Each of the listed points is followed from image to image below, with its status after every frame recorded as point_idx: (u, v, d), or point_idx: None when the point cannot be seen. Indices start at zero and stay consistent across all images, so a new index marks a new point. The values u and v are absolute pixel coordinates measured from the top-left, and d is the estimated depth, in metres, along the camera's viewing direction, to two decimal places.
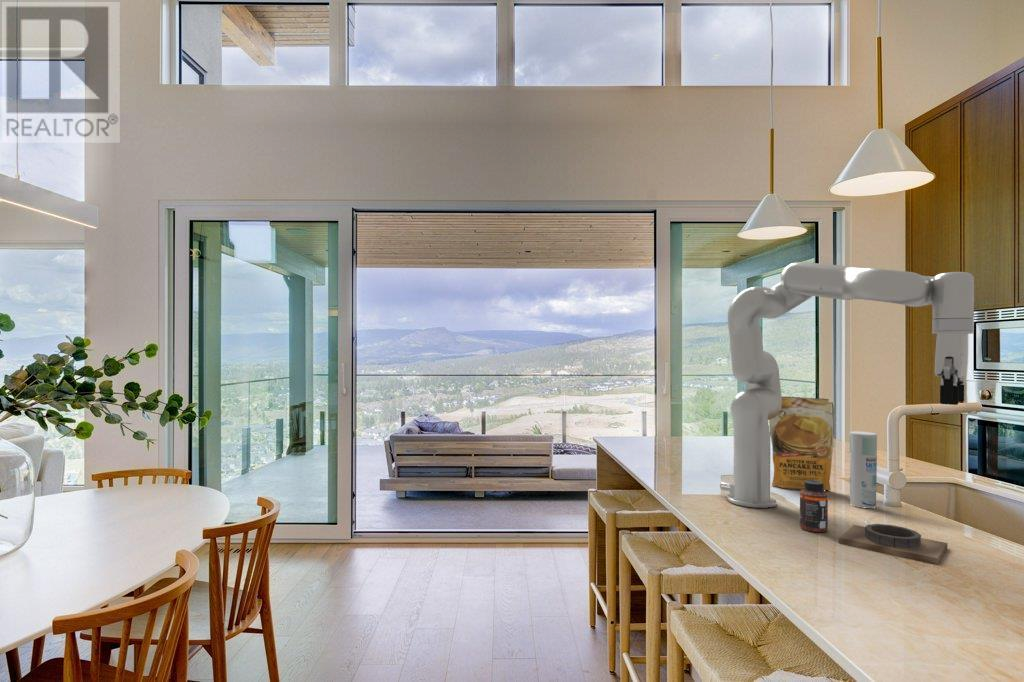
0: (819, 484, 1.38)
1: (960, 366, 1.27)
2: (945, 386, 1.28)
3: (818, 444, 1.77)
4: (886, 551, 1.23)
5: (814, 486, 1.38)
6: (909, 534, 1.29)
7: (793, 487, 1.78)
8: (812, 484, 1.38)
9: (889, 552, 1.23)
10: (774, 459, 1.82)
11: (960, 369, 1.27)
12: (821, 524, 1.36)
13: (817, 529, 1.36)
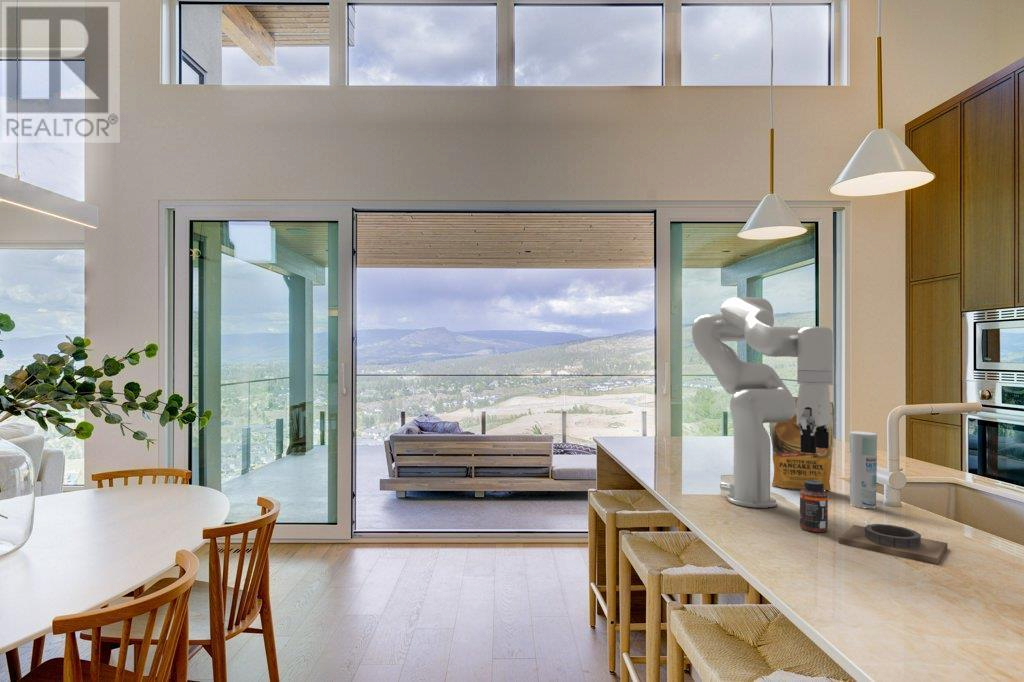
0: (819, 484, 1.38)
1: (817, 417, 1.35)
2: (804, 435, 1.35)
3: None
4: (886, 551, 1.23)
5: (814, 486, 1.38)
6: (909, 534, 1.29)
7: (793, 487, 1.78)
8: (812, 484, 1.38)
9: (889, 552, 1.23)
10: (774, 459, 1.82)
11: (817, 419, 1.35)
12: (821, 524, 1.36)
13: (817, 529, 1.36)
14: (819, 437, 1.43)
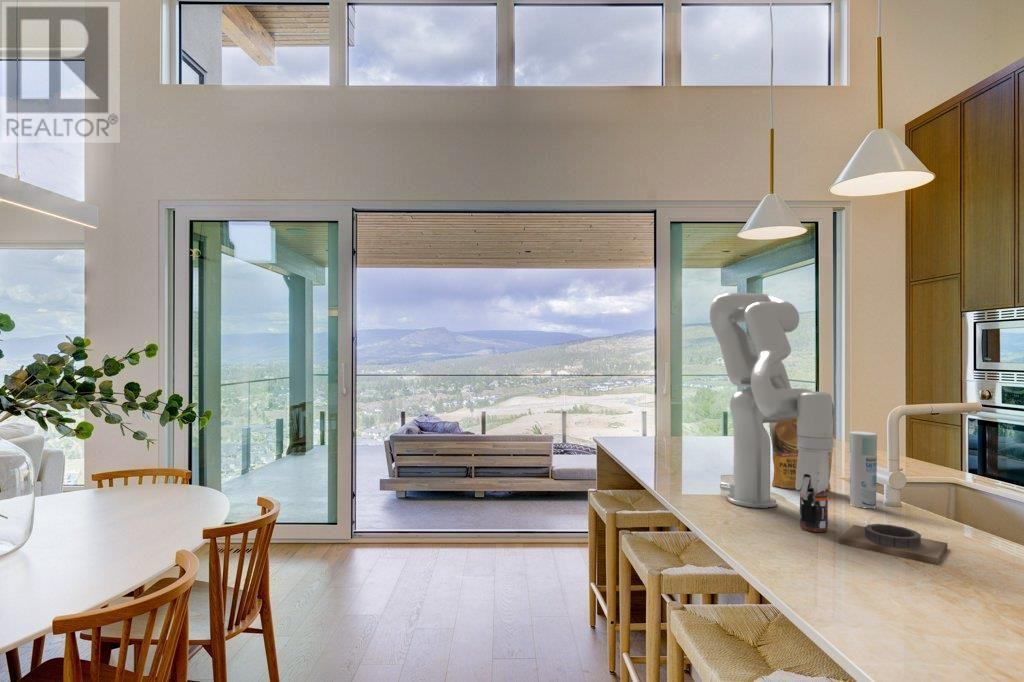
0: None
1: (816, 484, 1.35)
2: (805, 505, 1.36)
3: None
4: (886, 551, 1.23)
5: None
6: (909, 534, 1.29)
7: (793, 487, 1.78)
8: None
9: (889, 552, 1.23)
10: (774, 459, 1.82)
11: (816, 487, 1.35)
12: (821, 524, 1.36)
13: (817, 529, 1.36)
14: None
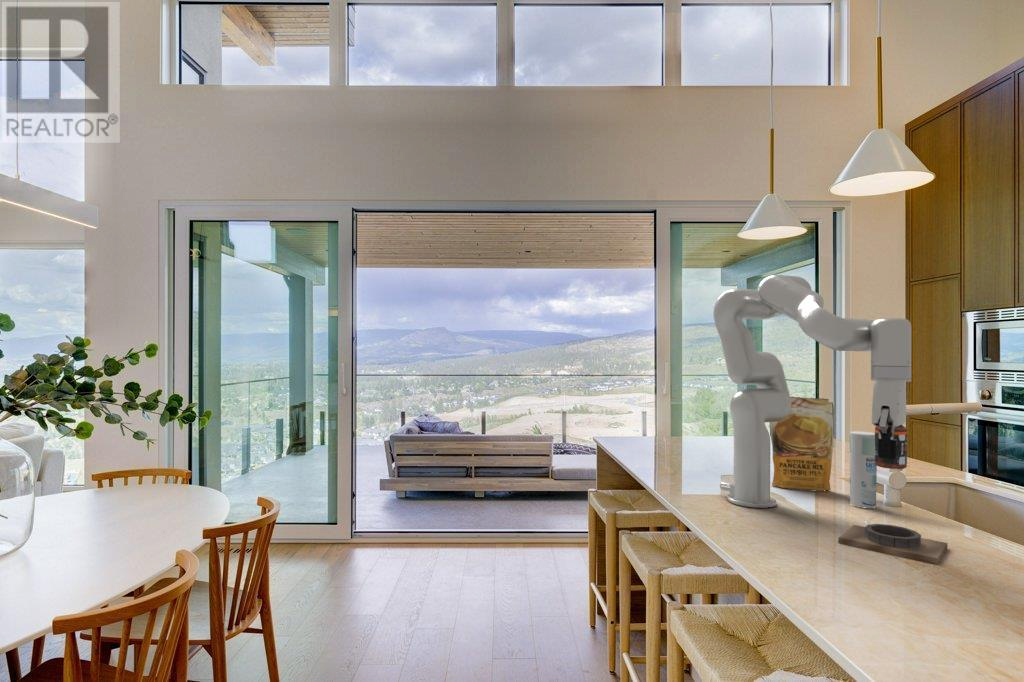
0: None
1: (896, 416, 1.24)
2: (883, 440, 1.26)
3: (818, 444, 1.78)
4: (886, 551, 1.23)
5: None
6: (909, 534, 1.29)
7: (793, 487, 1.78)
8: None
9: (889, 552, 1.23)
10: (774, 459, 1.82)
11: (896, 419, 1.24)
12: (901, 460, 1.26)
13: (896, 465, 1.26)
14: None
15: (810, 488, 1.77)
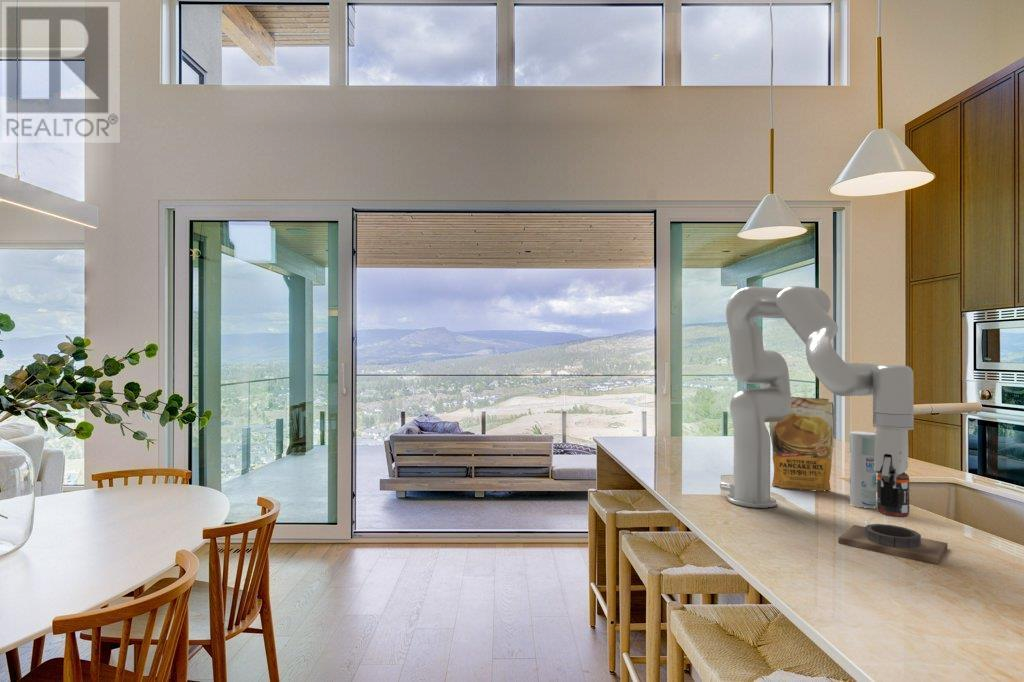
0: None
1: (898, 465, 1.24)
2: (885, 488, 1.25)
3: (818, 444, 1.78)
4: (886, 551, 1.23)
5: None
6: (909, 534, 1.29)
7: (793, 487, 1.78)
8: None
9: (889, 552, 1.23)
10: (774, 459, 1.82)
11: (898, 468, 1.24)
12: (903, 508, 1.25)
13: (899, 514, 1.25)
14: None
15: (810, 488, 1.77)
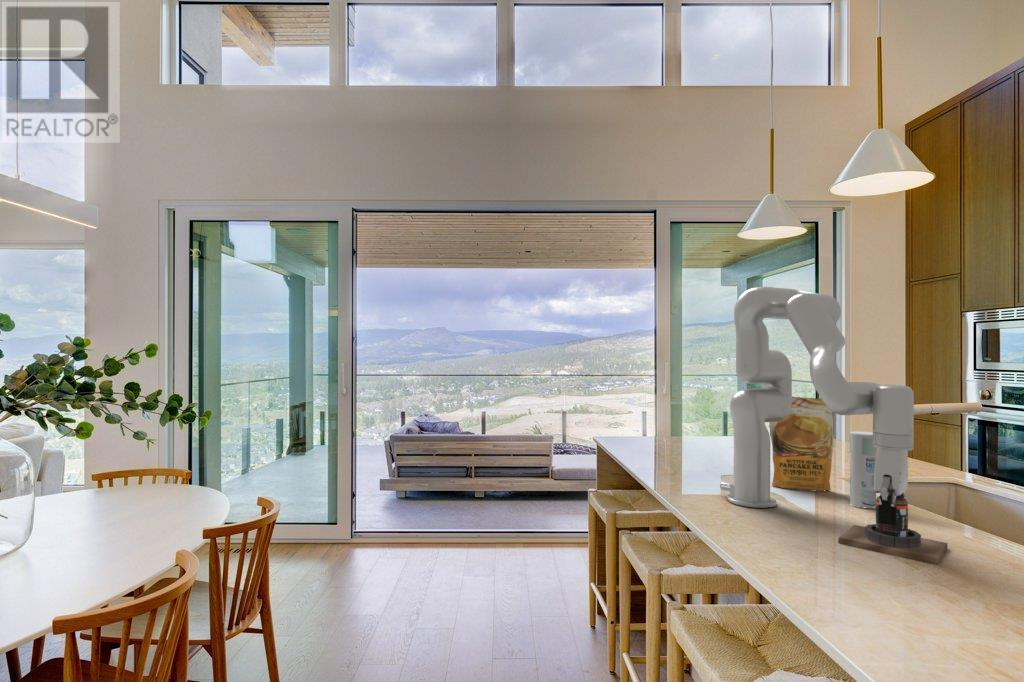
0: None
1: (898, 486, 1.24)
2: (883, 506, 1.24)
3: (818, 444, 1.78)
4: (886, 551, 1.23)
5: None
6: (909, 534, 1.29)
7: (793, 487, 1.78)
8: None
9: (889, 552, 1.23)
10: (774, 459, 1.82)
11: (898, 489, 1.24)
12: (902, 534, 1.26)
13: None
14: None
15: (810, 488, 1.77)
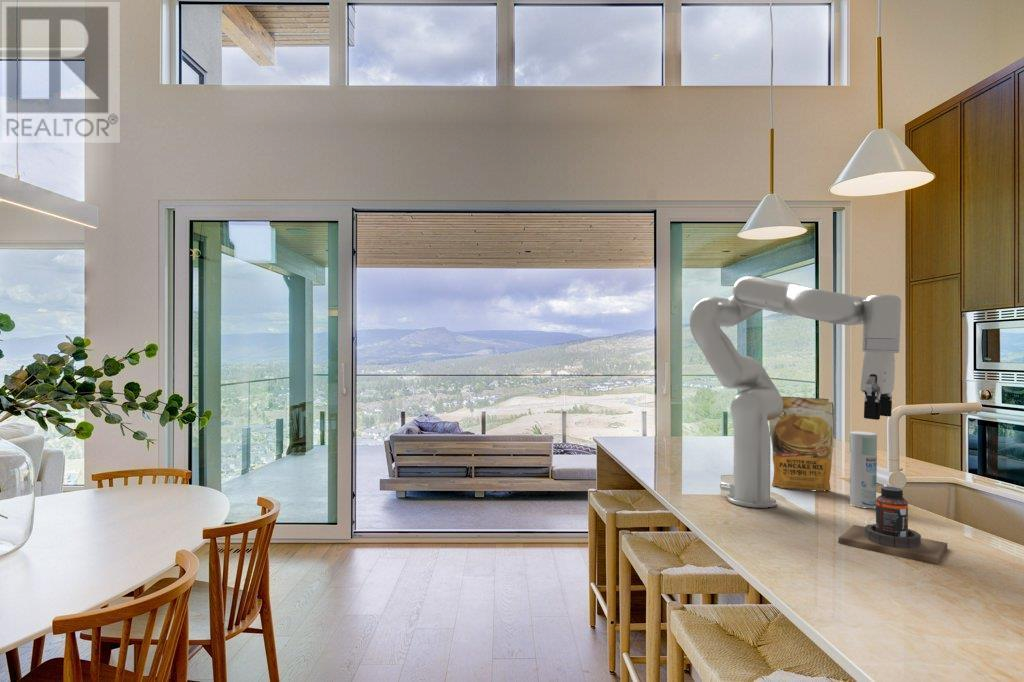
0: (899, 491, 1.27)
1: (883, 384, 1.36)
2: (868, 402, 1.37)
3: (818, 444, 1.77)
4: (886, 551, 1.23)
5: (893, 493, 1.27)
6: (909, 534, 1.29)
7: (793, 487, 1.78)
8: (891, 491, 1.27)
9: (889, 552, 1.23)
10: (774, 459, 1.82)
11: (882, 386, 1.36)
12: (902, 534, 1.26)
13: None
14: (882, 405, 1.44)
15: (810, 488, 1.77)
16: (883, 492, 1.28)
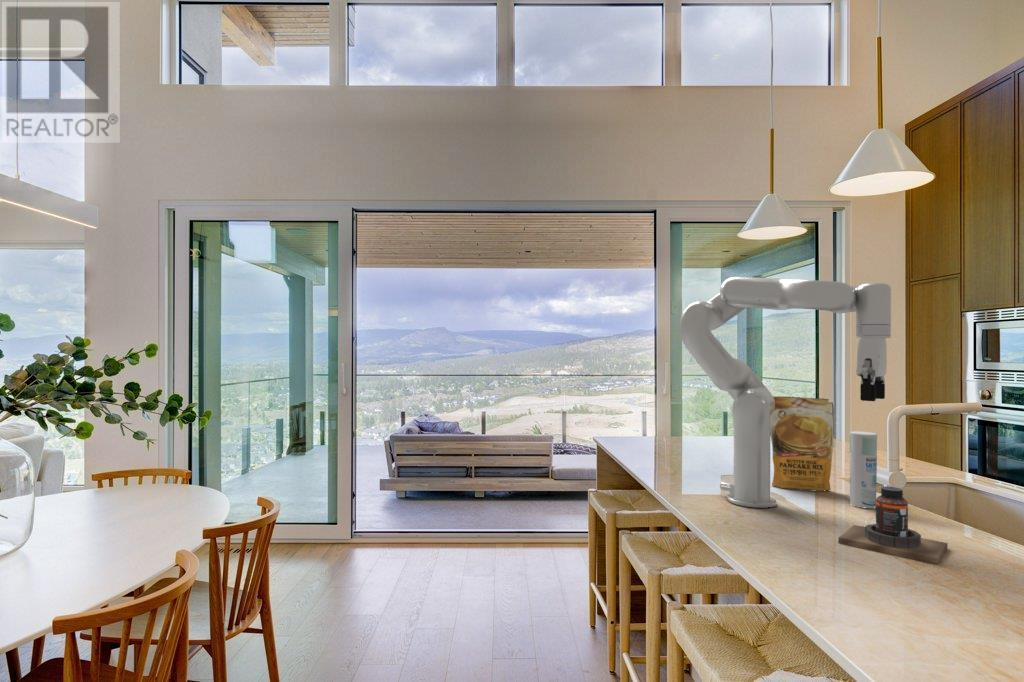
0: (899, 491, 1.27)
1: (877, 367, 1.43)
2: (864, 385, 1.44)
3: (818, 444, 1.78)
4: (886, 551, 1.23)
5: (893, 493, 1.27)
6: (909, 534, 1.29)
7: (793, 487, 1.78)
8: (891, 491, 1.27)
9: (889, 552, 1.23)
10: (774, 459, 1.82)
11: (877, 369, 1.43)
12: (902, 534, 1.26)
13: None
14: (875, 388, 1.51)
15: (810, 488, 1.77)
16: (883, 492, 1.28)
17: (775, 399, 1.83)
